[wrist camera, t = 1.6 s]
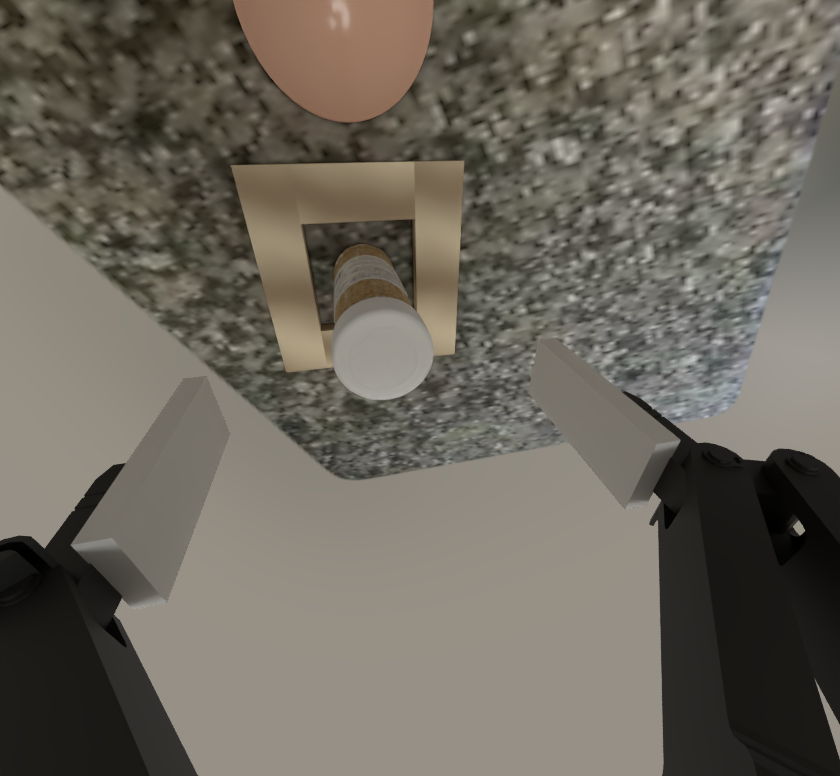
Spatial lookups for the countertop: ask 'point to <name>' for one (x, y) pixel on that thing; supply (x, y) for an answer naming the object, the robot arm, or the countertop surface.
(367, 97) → the coaster
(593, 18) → the countertop surface
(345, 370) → the sprinkles bottle
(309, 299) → the collar board
